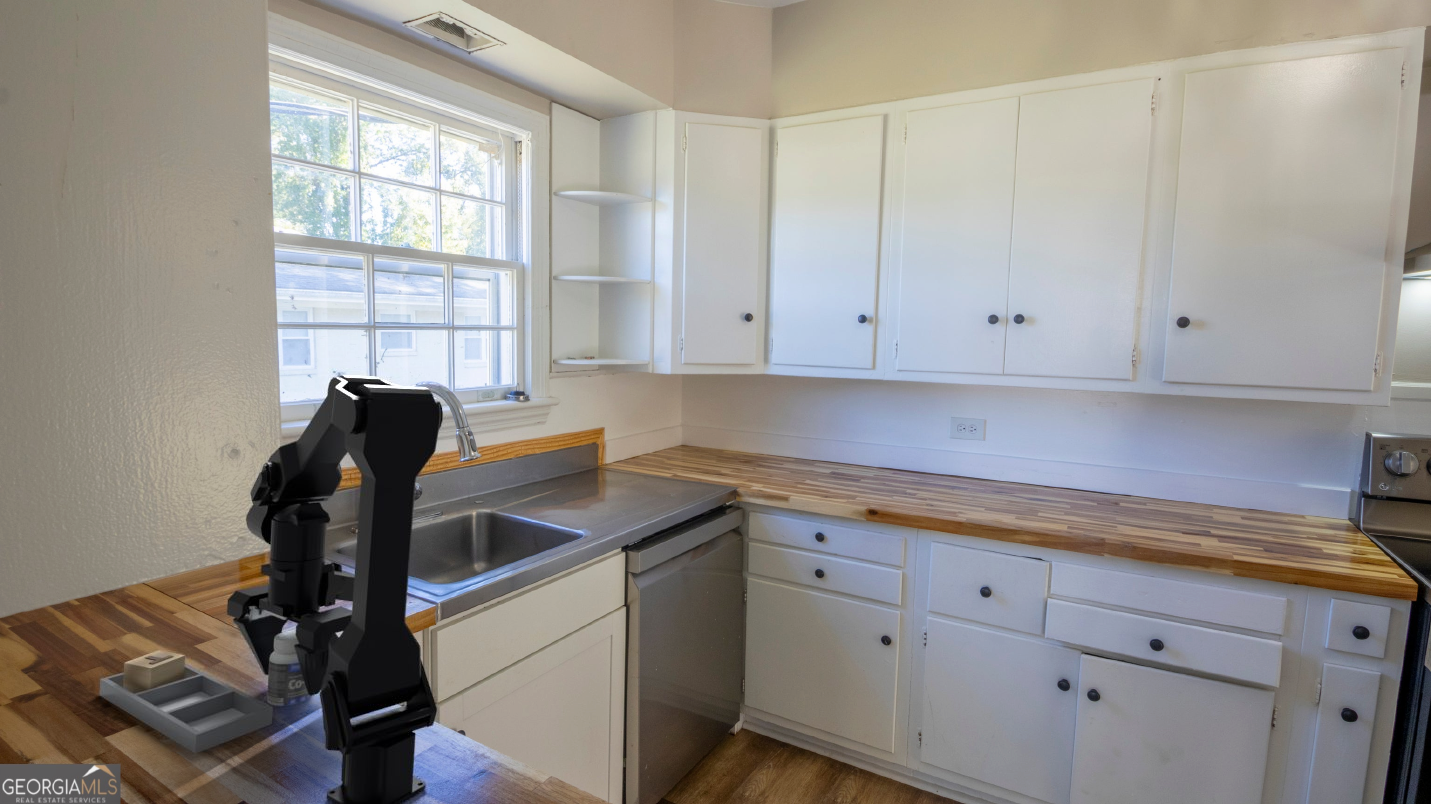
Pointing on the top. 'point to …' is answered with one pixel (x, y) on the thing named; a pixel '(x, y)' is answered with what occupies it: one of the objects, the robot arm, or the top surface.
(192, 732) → the bay dish
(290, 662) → the pill bottle
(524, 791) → the top surface
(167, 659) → the letter cube
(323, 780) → the top surface
